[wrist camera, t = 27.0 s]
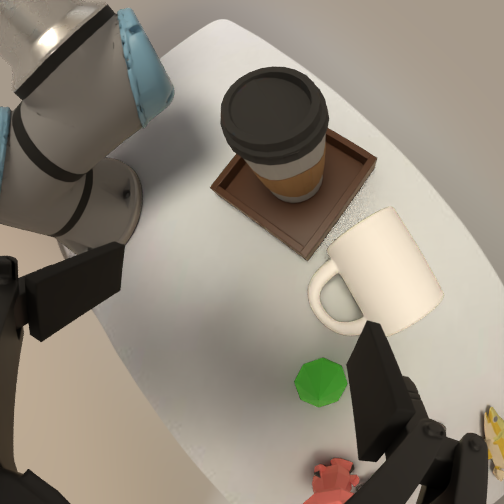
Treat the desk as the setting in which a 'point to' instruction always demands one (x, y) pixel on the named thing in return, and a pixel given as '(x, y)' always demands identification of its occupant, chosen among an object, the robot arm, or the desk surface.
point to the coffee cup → (278, 130)
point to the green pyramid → (320, 382)
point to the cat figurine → (333, 483)
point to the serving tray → (306, 212)
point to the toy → (495, 441)
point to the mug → (378, 276)
